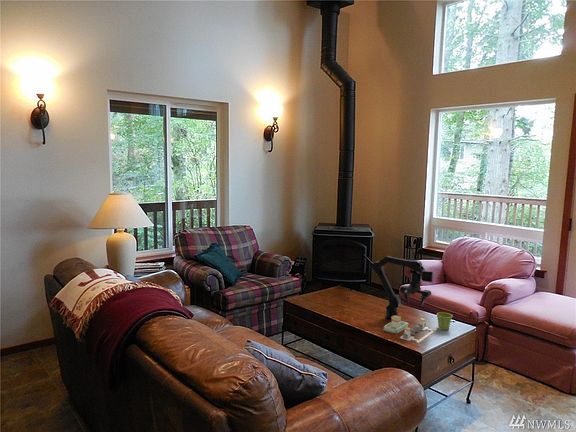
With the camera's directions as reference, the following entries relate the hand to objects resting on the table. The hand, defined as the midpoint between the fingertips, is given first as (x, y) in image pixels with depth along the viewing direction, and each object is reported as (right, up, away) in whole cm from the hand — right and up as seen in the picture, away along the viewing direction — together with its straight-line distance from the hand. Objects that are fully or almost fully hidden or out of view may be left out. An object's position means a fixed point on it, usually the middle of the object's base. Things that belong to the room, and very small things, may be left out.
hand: (414, 304), depth 263 cm
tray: (-15, -13, -10) cm, 22 cm away
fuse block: (-3, -14, -18) cm, 23 cm away
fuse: (-15, -12, -10) cm, 22 cm away
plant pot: (+15, -13, -8) cm, 22 cm away
